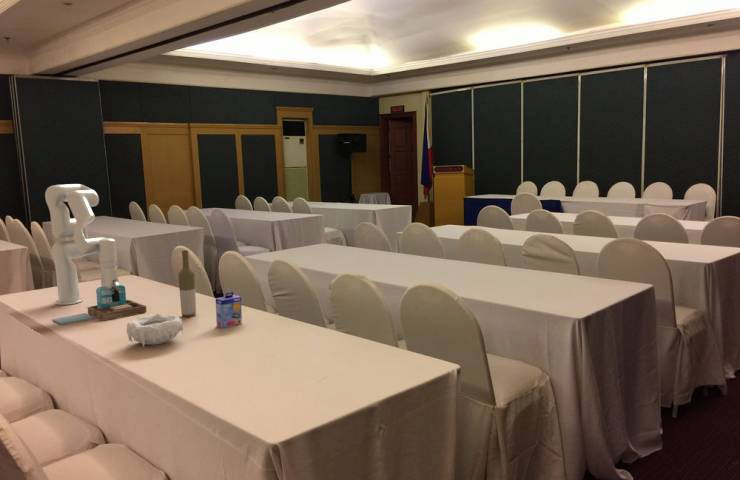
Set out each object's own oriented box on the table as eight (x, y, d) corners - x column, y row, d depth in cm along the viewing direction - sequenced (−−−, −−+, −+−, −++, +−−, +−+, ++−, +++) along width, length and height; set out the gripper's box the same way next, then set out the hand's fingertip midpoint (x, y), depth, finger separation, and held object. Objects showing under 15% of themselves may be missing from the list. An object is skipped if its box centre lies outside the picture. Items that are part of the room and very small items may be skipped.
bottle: (178, 315, 268) (173, 250, 264) (192, 312, 273) (188, 249, 269) (185, 318, 263) (181, 252, 259) (199, 315, 268) (195, 250, 264)
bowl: (128, 339, 234) (126, 314, 232) (182, 333, 241) (180, 309, 239) (127, 354, 214) (125, 328, 213) (185, 347, 222) (183, 321, 220)
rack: (88, 313, 276) (87, 307, 276) (129, 305, 290) (128, 299, 290) (103, 320, 263) (103, 314, 262) (146, 312, 276) (146, 305, 276)
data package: (101, 314, 275) (99, 288, 273) (97, 312, 278) (95, 287, 276) (127, 309, 283) (125, 284, 281) (123, 307, 286) (121, 283, 284)
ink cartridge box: (223, 328, 246) (221, 294, 244) (215, 326, 250) (214, 293, 248) (243, 323, 253) (241, 290, 251) (235, 321, 257) (234, 289, 255)
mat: (52, 320, 265) (52, 319, 265) (85, 314, 274) (84, 313, 274) (61, 325, 256) (61, 324, 256) (94, 318, 266) (94, 317, 266)
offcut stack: (106, 316, 272) (106, 307, 272) (128, 311, 279) (127, 303, 278) (112, 318, 267) (111, 310, 267) (134, 314, 274) (133, 306, 273)
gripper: (93, 263, 281) (97, 298, 283) (107, 267, 269) (111, 304, 271) (109, 261, 286) (112, 296, 288) (124, 265, 274) (127, 301, 276)
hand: (111, 300), depth 280 cm, fingers open, 9 cm apart
